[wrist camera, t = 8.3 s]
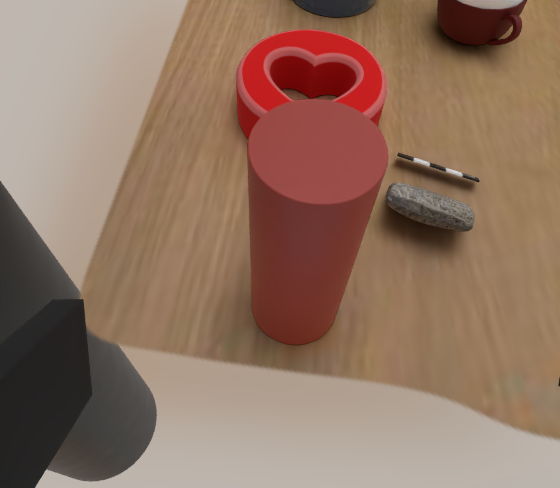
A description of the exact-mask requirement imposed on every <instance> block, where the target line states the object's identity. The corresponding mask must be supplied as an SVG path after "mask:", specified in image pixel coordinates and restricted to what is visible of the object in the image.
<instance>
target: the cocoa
mask: <svg viewBox="0 0 560 488" xmlns="http://www.w3.org/2000/svg"><path fill="white" fill-rule="evenodd" d="M526 2H527V0H438V7H437V17H438V21H439V23H440V25H441V27H442V29H443V31H444V32H445V34H447V35H448V36H449V37H451V38H452V39H454V40H455V41H457V42H460V43H463V44H466V45H482V44H488V45H501V44H506V43H508V42H511V41H513V40H514V39H516V38H517V37H518V36H519V34H520V32H521V29H522V20H521V18H520V17H519V15H520V14H521V12H522V10H523V8H524V6H525V4H526ZM512 25H513V31H512V33H511V34H510V35H509V36H508V37H507V38H505V39H501V40H499V39H498V38H500V37H501V36H502V35H503V34H505V33H506V32H507V31H508V30H509V29H510V27H511V26H512Z"/></svg>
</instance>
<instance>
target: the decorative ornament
mask: <svg viewBox="0 0 560 488" xmlns="http://www.w3.org/2000/svg"><path fill="white" fill-rule="evenodd" d="M236 87H237V108H238V119H239V123H240V126H241V128H242V130H243V132H244V134H245V135H246V137H247V138H249V136H250V133H251V131H252V129H253V127H254V125H255V124H256V123H257V121H258V120H259V119H260V118H261V117H262V116H263V115H264V114H266V113H267V112H268V111H270V110H271V109H273V108H275V107H277V106H279V105H282V104H284V103H287V102H291V101H293V100H292V99H290V98H289V97H288V96H287V95H286V94H284V93H283V92H282V91H281V89H295V90H298V91H300V92H302V93H304V94H305V95H307V96H308V97H309V98H310V99H312V98H314V97H317V96H320V95H335V96H338V98H336V99H334V100H332V101H335V102H339V103H342V104H345V105H347V106H350V107H352V108H354V109H356V110H358V111H359V112H361V113H363V114H364V115H365V116H367V117H368V118H369V119H370V120H371V121H372V122H373V123H374V124H375V125H376V126H378V123H379V119H380V116H381V112H382V109H383V105H384V102H385V98H386V94H387V82H386V77H385V73H384V71H383V69H382V67H381V65H380V63H379V62H378V60H377V59H376V57H375V56H374V55H373V54H372V53H371V52H370V51H369V50H368V49H366V48H365V47H364V46H362V45H361V44H359V43H358V42H356V41H354V40H352V39H350V38H347V37H345V36H342V35H339V34H335V33H331V32H326V31H320V30H291V31H285V32H281V33H278V34H274V35H272V36H269V37H267V38H265V39H263V40H261V41H260V42H258V43H257V44H255V45H254V46H253V47H252V48H250V49H249V50H248V52H247V53H246V54H245V55H244V57H243V58H242V60H241V61H240V63H239V66H238V68H237V72H236Z"/></svg>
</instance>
